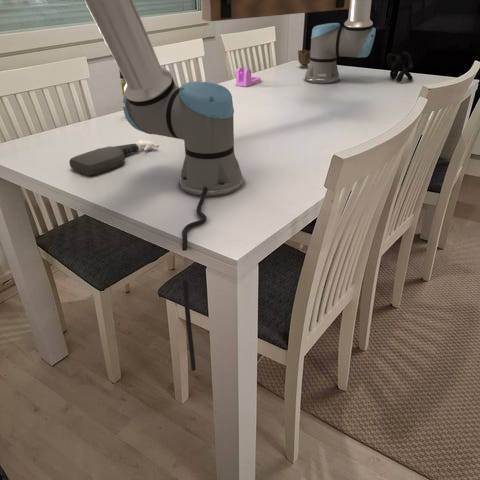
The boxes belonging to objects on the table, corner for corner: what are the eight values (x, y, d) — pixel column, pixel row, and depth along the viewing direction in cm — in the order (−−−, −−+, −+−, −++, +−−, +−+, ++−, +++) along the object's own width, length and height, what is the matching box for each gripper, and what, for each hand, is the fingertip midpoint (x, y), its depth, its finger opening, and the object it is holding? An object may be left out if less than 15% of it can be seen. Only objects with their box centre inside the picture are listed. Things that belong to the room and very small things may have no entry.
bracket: (246, 86, 195) (246, 69, 191) (236, 85, 197) (235, 68, 194) (263, 80, 203) (263, 64, 200) (253, 79, 206) (253, 63, 202)
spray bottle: (67, 168, 120) (139, 144, 136) (91, 178, 114) (163, 151, 130) (65, 157, 118) (137, 134, 134) (89, 167, 112) (162, 142, 128)
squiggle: (400, 92, 202) (376, 71, 205) (417, 76, 202) (392, 56, 205) (405, 81, 191) (380, 59, 194) (423, 64, 191) (397, 42, 194)
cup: (294, 68, 226) (295, 51, 222) (300, 65, 232) (301, 48, 227) (308, 69, 223) (309, 52, 219) (313, 66, 229) (315, 49, 224)
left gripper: (251, -95, 102) (251, 18, 115) (211, -88, 115) (215, 13, 127) (224, -96, 99) (227, 20, 111) (186, -89, 111) (192, 15, 124)
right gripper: (374, -88, 122) (363, 8, 134) (329, -83, 134) (323, 4, 147) (355, -89, 119) (346, 9, 131) (310, -83, 131) (305, 6, 143)
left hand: (221, 16), depth 119 cm, fingers closed on bar, 5 cm apart
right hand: (333, 7), depth 139 cm, fingers closed on bar, 5 cm apart
